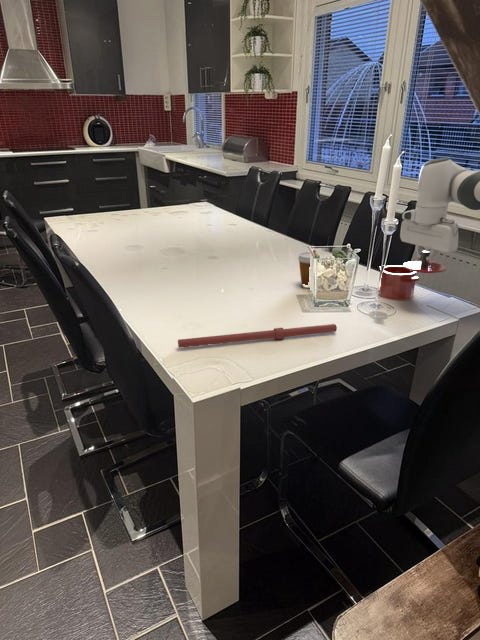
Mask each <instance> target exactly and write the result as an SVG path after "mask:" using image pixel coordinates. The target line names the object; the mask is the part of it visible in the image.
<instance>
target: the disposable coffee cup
mask: <svg viewBox="0 0 480 640" xmlns="http://www.w3.org/2000/svg"><path fill="white" fill-rule="evenodd" d="M310 252H311V251H308V252H301V253H299V254H298V257H297V260H298V263H299V273H300V284H301V283H302V284H305V285H308V282H309V267H310ZM302 284H301V285H302Z"/></svg>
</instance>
